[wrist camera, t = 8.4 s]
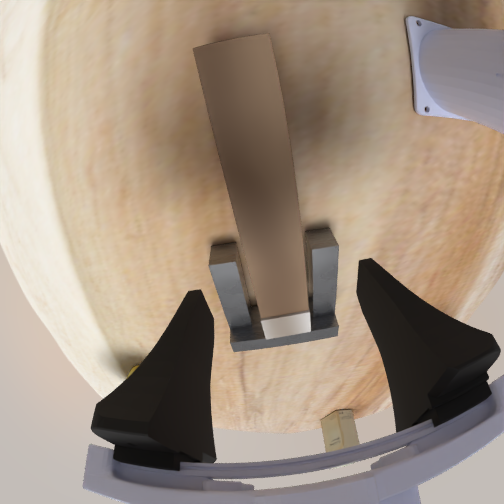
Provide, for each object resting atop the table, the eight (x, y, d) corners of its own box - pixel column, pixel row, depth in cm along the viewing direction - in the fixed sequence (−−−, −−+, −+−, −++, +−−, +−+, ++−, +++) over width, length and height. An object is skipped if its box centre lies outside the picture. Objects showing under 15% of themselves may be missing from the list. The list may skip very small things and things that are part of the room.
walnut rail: (261, 46, 13) (270, 32, 9) (300, 287, 25) (310, 331, 20) (204, 57, 13) (190, 48, 9) (261, 294, 25) (265, 339, 21)
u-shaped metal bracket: (329, 227, 21) (345, 257, 18) (327, 304, 26) (337, 336, 23) (211, 246, 22) (206, 279, 18) (233, 319, 27) (233, 351, 24)
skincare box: (335, 409, 45) (346, 463, 35) (352, 408, 46) (364, 459, 36) (319, 420, 49) (327, 469, 39) (335, 419, 50) (344, 466, 40)
